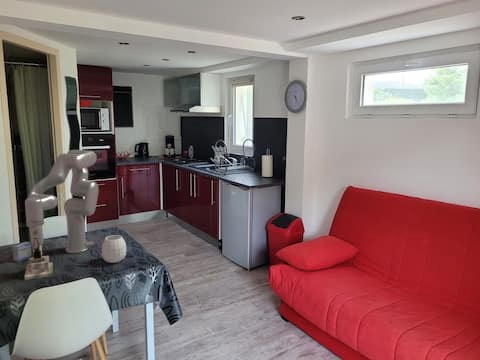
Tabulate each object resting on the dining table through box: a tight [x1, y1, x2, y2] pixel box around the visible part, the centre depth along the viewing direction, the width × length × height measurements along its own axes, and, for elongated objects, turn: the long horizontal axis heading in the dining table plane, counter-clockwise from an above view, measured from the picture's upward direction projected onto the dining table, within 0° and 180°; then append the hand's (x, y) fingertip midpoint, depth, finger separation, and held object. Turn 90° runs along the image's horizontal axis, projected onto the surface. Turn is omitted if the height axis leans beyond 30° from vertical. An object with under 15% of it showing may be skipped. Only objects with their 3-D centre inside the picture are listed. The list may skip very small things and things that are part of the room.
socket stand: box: [24, 255, 54, 281], centre depth 182 cm, size 12×14×6 cm
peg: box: [31, 239, 43, 263], centre depth 180 cm, size 4×4×14 cm
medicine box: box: [11, 241, 33, 263], centre depth 197 cm, size 8×4×9 cm, turn 160°
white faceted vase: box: [101, 234, 127, 264], centre depth 198 cm, size 13×13×14 cm
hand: (37, 256), depth 180 cm, fingers closed on peg, 4 cm apart
